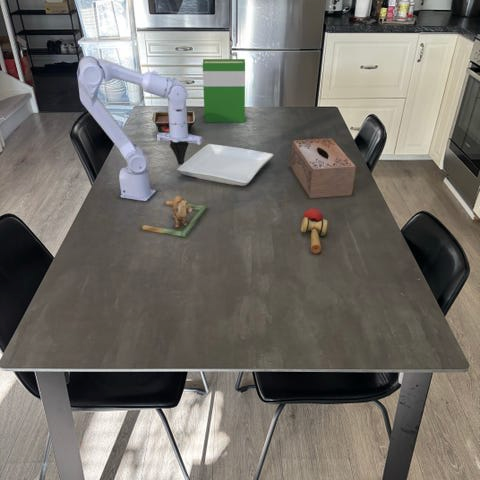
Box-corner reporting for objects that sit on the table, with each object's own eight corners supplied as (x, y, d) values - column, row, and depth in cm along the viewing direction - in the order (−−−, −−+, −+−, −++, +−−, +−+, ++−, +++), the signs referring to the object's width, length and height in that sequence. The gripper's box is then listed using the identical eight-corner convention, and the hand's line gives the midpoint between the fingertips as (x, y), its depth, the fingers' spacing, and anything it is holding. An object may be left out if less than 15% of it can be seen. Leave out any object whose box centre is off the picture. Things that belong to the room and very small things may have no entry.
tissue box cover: (290, 167, 197) (292, 140, 191) (328, 164, 199) (331, 138, 193) (310, 198, 177) (312, 169, 171) (351, 195, 179) (355, 166, 173)
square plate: (176, 179, 189) (175, 168, 186) (208, 152, 208) (208, 142, 206) (247, 191, 181) (247, 181, 178) (274, 162, 200) (274, 152, 198)
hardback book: (204, 122, 235) (202, 63, 220) (205, 116, 241) (203, 59, 226) (244, 122, 236) (245, 63, 221) (244, 116, 241) (244, 59, 226)
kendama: (331, 257, 151) (326, 219, 163) (330, 239, 146) (324, 201, 159) (304, 260, 152) (300, 222, 164) (302, 243, 148) (298, 205, 160)
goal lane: (142, 229, 160) (142, 226, 160) (167, 203, 174) (167, 200, 173) (184, 236, 157) (184, 233, 156) (206, 209, 171) (206, 206, 170)
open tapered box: (192, 144, 220) (195, 119, 214) (149, 137, 218) (150, 112, 213) (195, 134, 232) (197, 111, 226) (153, 128, 230) (155, 104, 225)
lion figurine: (195, 230, 160) (193, 202, 155) (178, 233, 159) (175, 205, 153) (182, 208, 171) (180, 182, 165) (166, 211, 170) (164, 184, 164)
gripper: (151, 123, 166) (156, 165, 174) (196, 127, 163) (198, 170, 171) (159, 116, 171) (163, 157, 180) (203, 120, 168) (204, 162, 177)
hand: (181, 163), depth 176 cm, fingers closed
